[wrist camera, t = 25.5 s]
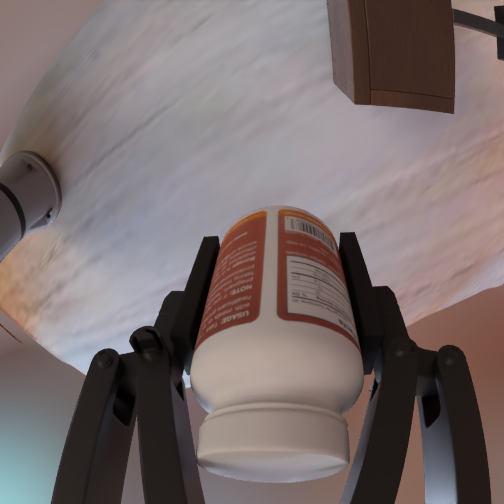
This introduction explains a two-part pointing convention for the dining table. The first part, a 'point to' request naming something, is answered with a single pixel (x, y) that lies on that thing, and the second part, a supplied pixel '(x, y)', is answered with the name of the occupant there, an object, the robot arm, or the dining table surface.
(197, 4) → the dining table surface
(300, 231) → the pill bottle
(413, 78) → the brown wooden box
